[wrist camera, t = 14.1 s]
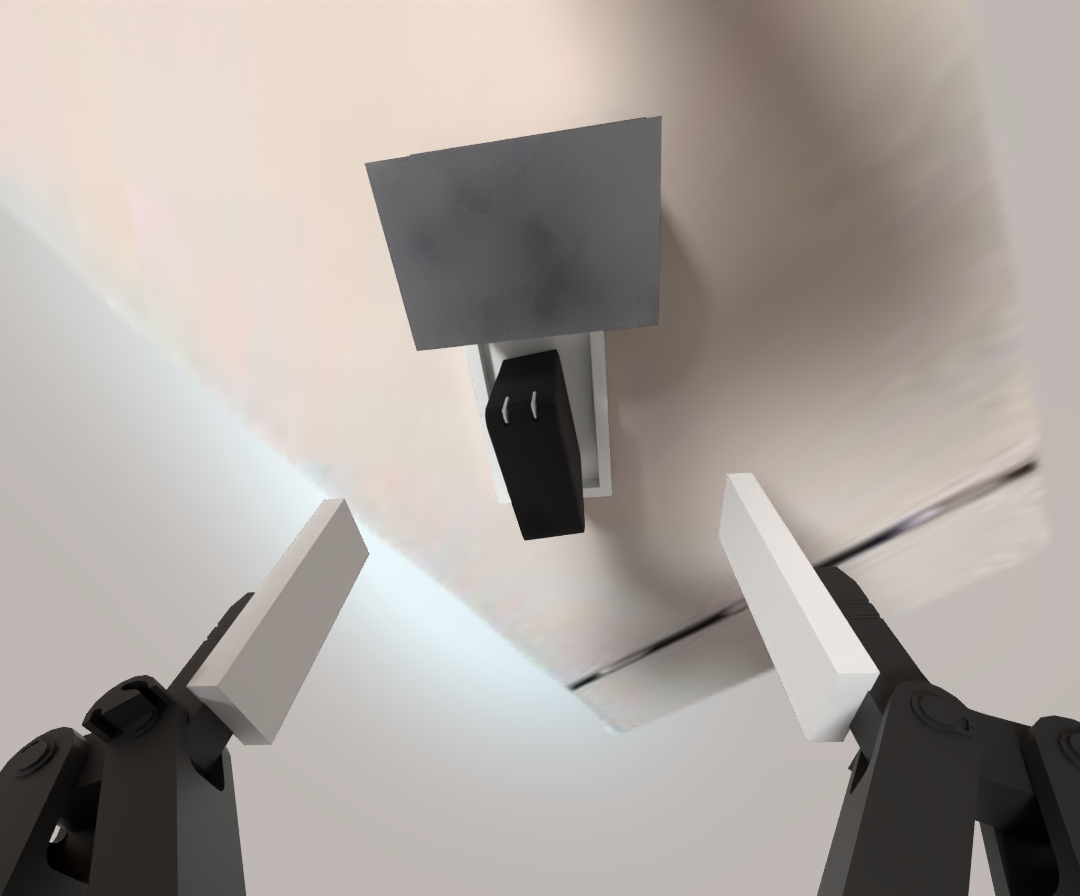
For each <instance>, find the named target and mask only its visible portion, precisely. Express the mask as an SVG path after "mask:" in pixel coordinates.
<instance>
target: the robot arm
mask: <svg viewBox="0 0 1080 896" xmlns="http://www.w3.org/2000/svg"><path fill="white" fill-rule="evenodd" d="M718 537H719V539H720V542H721V544H722V546H723V549H724V551H725V553H726V556H727V558H728V560H729V562H730V565H731V567H732V569H733V572H734V574H735V576H736V579H737V581H738V583H739V585H740V588H741V590H742V592H743V595H744V597H745V599H746V602H747V604H748V606H749V608H750V611H751V613H752V615H753V618H754V620H755V622H756V625H757V627H758V629H759V631H760V634H761V636H762V638H763V641H764V643H765V645H766V648H767V650H768V652H769V655H770V657H771V659H772V661H773V664H774V666H775V668H776V671H777V673H778V675H779V678H780V680H781V682H782V684H783V687H784V689H785V691H786V694H787V696H788V698H789V700H790V703H791V705H792V707H793V710H794V711H795V714H796V717H797V719H798V721H799V724H800V726H801V728H802V730H803V733H804V735H805V737H806V740H807V742H843V741H844V739H845V737H846V735H847V733H848V731H849V730H850V729H851V731H852V733H853V735H854V737H855V739H856V741H857V743H858V744H859V746H860V749H859V751H858V752H857V754H856V756H855V758H854V759H853V761H852V763H851V765H850V766H849V768H848V769H849V770H851V771H852V773H851V777H850V780H849V784H848V788H847V791H846V795H845V798H844V802H843V805H842V809H841V812H840V816H839V819H838V823H837V827H836V830H835V834H834V837H833V841H832V844H831V848H830V852H829V855H828V858H827V862H826V865H825V869H824V873H823V876H822V880H821V883H820V887H819V890H818V894H817V896H968V891H969V881H970V870H971V858H972V846H973V836H974V823H975V820H976V821H979V822H980V827H981V832H982V836H983V840H984V845H985V850H986V854H987V859H988V863H989V868H990V872H991V877H992V882H993V886H994V891H995V895H996V896H1080V722H1078V721H1076V720H1073V719H1069V718H1064V717H1059V716H1055V715H1054V716H1047V717H1041V718H1040V719H1039V720H1038V721H1037V722H1036V723H1035V724H1034V725H1033V726H1032V727H1031V726H1027V725H1023V724H1019V723H1016V722H1012V721H1008V720H1004V719H1001V718H997V717H993V716H989V715H986V714H982V713H979V712H977V711H974V710H971V709H968V708H967V707H966V706H965V705H964V704H963V703H962V702H961V701H960V700H958V699H957V698H956V697H955V696H953V695H952V694H950V693H948V692H947V691H945V690H943V689H942V688H940V687H938V686H935V685H932V684H931V683H930V682H929V681H928V680H927V678H925V676H924V675H923V674H922V673H921V671H920V670H919V668H918V667H917V666H916V664H915V663H914V661H913V660H912V659H911V657H910V656H909V654H908V653H907V652H906V650H905V649H904V648H903V646H902V645H901V643H900V642H899V641H898V639H897V638H896V637H895V635H894V634H893V633H892V631H891V630H890V628H889V627H888V626H887V624H886V623H885V621H884V620H883V619H881V618H880V616H879V613H878V612H877V610H876V609H875V608H874V606H873V605H872V604H871V603H869V599H868V598H867V597H866V595H865V594H864V592H863V591H862V590H861V588H860V587H859V586H858V584H857V583H856V582H855V581H854V580H853V579H852V578H850V577H849V576H848V575H846V574H845V573H844V572H843V571H841V570H840V569H839V568H837V567H812V566H811V564H810V563H809V561H808V559H807V558H806V556H805V555H804V553H803V552H802V550H801V549H800V547H799V545H798V544H797V542H796V541H795V539H794V538H793V536H792V535H791V533H790V531H789V530H788V528H787V527H786V525H785V524H784V522H783V521H782V519H781V517H780V516H779V514H778V513H777V511H776V510H775V508H774V506H773V505H772V503H771V502H770V500H769V499H768V497H767V496H766V494H765V492H764V491H763V489H762V488H761V486H760V485H759V483H758V482H757V480H756V478H755V477H754V475H753V474H752V472H749V473H733V474H727V478H726V485H725V492H724V499H723V506H722V513H721V520H720V527H719V533H718ZM368 556H369V552H368V550H367V547H366V545H365V543H364V541H363V539H362V536H361V534H360V532H359V530H358V528H357V525H356V523H355V521H354V519H353V516H352V514H351V512H350V510H349V508H348V505H347V503H346V501H345V499H328V500H324V501H323V502H322V503H321V505H320V506H319V507H318V509H317V510H316V511H315V513H314V514H313V515H312V517H311V518H310V520H309V521H308V522H307V524H306V525H305V526H304V528H303V529H302V530H301V532H300V533H299V535H298V536H297V537H296V538H295V540H294V541H293V543H292V544H291V545H290V547H289V548H288V549H287V550H286V552H285V553H284V555H283V556H282V557H281V559H280V560H279V561H278V563H277V564H276V566H275V567H274V568H273V570H272V571H271V572H270V574H269V575H268V576H267V578H266V579H265V580H264V582H263V583H262V584H261V586H260V587H259V588H258V590H257V591H256V592H251V593H247V594H246V595H245V596H243V597H242V598H241V599H240V600H239V601H237V602H236V603H235V604H234V605H233V606H231V607H230V608H229V610H228V611H227V612H226V614H225V615H224V616H223V618H222V619H221V620H220V621H219V623H218V626H217V627H215V628H214V629H213V630H212V632H211V633H210V634H209V636H208V637H207V638H208V639H207V641H204V642H203V644H202V645H201V646H200V647H199V649H198V650H197V651H196V653H195V654H194V655H193V656H192V658H191V659H190V660H189V662H188V663H187V664H186V665H185V667H184V668H183V669H182V671H181V672H180V673H179V675H178V676H177V677H176V678H175V680H174V681H173V682H172V684H171V685H170V686H169V687H168V689H167V690H166V689H164V687H162V686H161V684H160V683H158V682H157V681H156V680H155V679H154V678H153V677H150V676H148V675H143V676H136V677H133V678H131V679H128V680H126V681H124V682H122V683H120V684H119V685H117V686H115V687H114V688H112V689H111V690H109V691H108V692H107V693H106V694H104V695H103V696H102V697H101V698H100V699H99V700H98V701H97V702H96V703H95V704H94V705H93V706H92V708H91V709H90V710H89V711H88V713H87V714H86V716H85V718H84V721H83V723H82V726H84V727H85V728H86V729H88V730H89V731H90V732H92V733H91V734H88V735H85V736H82V735H81V734H79V733H78V732H76V731H75V730H74V729H72V728H68V727H61V728H57V729H53V730H50V731H49V732H47V733H45V734H43V735H41V736H39V737H37V738H35V739H34V740H33V741H31V742H30V743H28V744H27V745H26V746H25V747H23V748H22V749H21V750H20V751H19V752H17V754H15V756H13V757H12V758H11V759H10V760H9V761H8V762H7V764H6V765H5V766H4V768H3V769H2V770H1V772H0V896H246V890H245V882H244V872H243V864H242V855H241V846H240V837H239V828H238V819H237V810H236V802H235V792H234V783H233V774H232V765H231V756H230V753H229V751H228V749H227V748H226V747H225V746H226V744H227V743H228V741H229V739H230V738H231V736H232V734H234V735H235V736H236V737H237V738H238V739H239V740H240V741H241V742H242V743H243V744H244V745H271V744H272V743H273V741H274V739H275V737H276V735H277V733H278V731H279V729H280V727H281V725H282V723H283V721H284V719H285V718H286V716H287V714H288V712H289V710H290V708H291V706H292V704H293V702H294V700H295V698H296V696H297V694H298V692H299V690H300V688H301V686H302V684H303V682H304V680H305V679H306V677H307V675H308V673H309V671H310V669H311V667H312V665H313V663H314V661H315V659H316V657H317V655H318V653H319V651H320V649H321V647H322V645H323V643H324V641H325V639H326V638H327V635H328V634H329V632H330V630H331V628H332V626H333V624H334V622H335V620H336V618H337V616H338V614H339V612H340V610H341V608H342V606H343V604H344V602H345V600H346V598H347V596H348V595H349V593H350V591H351V588H352V587H353V585H354V583H355V581H356V579H357V577H358V575H359V573H360V571H361V569H362V567H363V565H364V563H365V561H366V559H367V558H368ZM56 825H57V826H59V827H61V828H60V830H59V832H58V835H57V837H56V838H55V840H54V841H53V843H50V842H49V841H50V839H51V836H52V834H53V832H54V829H55V827H56Z"/></svg>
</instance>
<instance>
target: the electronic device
mask: <svg viewBox="0 0 1080 896" xmlns="http://www.w3.org/2000/svg"><path fill="white" fill-rule="evenodd" d="M485 421H486V426H487V430H488V433H489V436H490V439H491V442H492V445H493V448H494V451H495V454H496V457H497V460H498V463H499V466H500V469H501V472H502V475H503V478H504V481H505V485H506V488H507V491H508V494H509V497H510V500H511V503H512V506H513V509H514V512H515V515H516V518H517V521H518V524H519V527H520V530H521V533H522V536H523V538H524V540H533V539H540V538H547V537H555V536H562V535H569V534H576V533H584V529H585V519H584V502H583V485H582V468H581V455H580V450H579V445H578V440H577V436H576V431H575V426H574V422H573V417H572V412H571V407H570V403H569V398H568V393H567V389H566V384H565V379H564V375H563V370H562V365H561V360H560V356H559V353H558V351H557V349H554V350H549V351H544V352H539V353H534V354H530V355H525V356H520V357H515V358H510V359H505V360H503V362H502V365H501V367H500V370H499V373H498V376H497V378H496V381H495V384H494V386H493V389H492V392H491V395H490V397H489V400H488V403H487V406H486V408H485Z"/></svg>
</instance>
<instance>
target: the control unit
mask: <svg viewBox="0 0 1080 896" xmlns="http://www.w3.org/2000/svg"><path fill="white" fill-rule="evenodd" d="M661 119H662V116H658V117H652V118H646V117H643V118H637V119H631V120H625V121H619V122H612V123H606V124H600V125H594V126H587V127H581V128H575V129H569V130H562V131H556V132H550V133H544V134H537V135H531V136H525V137H519V138H512V139H506V140H500V141H494V142H487V143H481V144H475V145H469V146H462V147H456V148H450V149H444V150H437V151H431V152H425V153H419V154H412V155H410V156H408V157H401V158H395V159H389V160H383V161H376V162H370V163H365V166H366V170H367V173H368V177H369V181H370V184H371V188H372V191H373V195H374V198H375V202H376V206H377V209H378V213H379V216H380V220H381V224H382V227H383V231H384V234H385V238H386V242H387V245H388V249H389V252H390V256H391V260H392V263H393V267H394V270H395V274H396V278H397V281H398V285H399V288H400V292H401V296H402V299H403V303H404V306H405V310H406V313H407V317H408V321H409V324H410V328H411V331H412V335H413V339H414V342H415V346H416V349H417V351H421V350H430V349H439V348H448V347H457V346H467V345H476V344H485V343H494V342H503V341H512V340H522V339H531V338H540V337H549V336H558V335H568V334H577V333H586V332H595V331H604V330H613V329H623V328H632V327H641V326H650V325H658V309H659V246H660V182H661Z"/></svg>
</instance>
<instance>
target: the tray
mask: <svg viewBox="0 0 1080 896" xmlns="http://www.w3.org/2000/svg"><path fill="white" fill-rule="evenodd" d="M464 349H465V353H466V358H467V362H468V367H469V372H470V376H471V381H472V385H473V390H474V394H475V399H476V403H477V408H478V413H479V417H480V422H481V426H482V431H483V435H484V440H485V444H486V449H487V454H488V458H489V463H490V467H491V472H492V476H493V481H494V485H495V490H496V495H497V499H498V504H501V503H511V500H510V497H509V494H508V491H507V488H506V485H505V481H504V478H503V475H502V472H501V469H500V466H499V463H498V460H497V457H496V454H495V451H494V448H493V445H492V442H491V439H490V436H489V433H488V430H487V426H486V421H485V408H486V406H487V403H488V400H489V397H490V395H491V392H492V389H493V386H494V384H495V381H496V378H497V376H498V373H499V370H500V367H501V365H502V362H503V360H505V359H510V358H515V357H520V356H525V355H530V354H534V353H539V352H544V351H549V350H554V349H557V351H558V353H559V356H560V360H561V365H562V370H563V375H564V379H565V384H566V389H567V393H568V398H569V403H570V407H571V412H572V417H573V422H574V426H575V431H576V436H577V440H578V445H579V450H580V455H581V468H582V485H583V498H589V497H604V496H612V483H611V462H610V442H609V421H608V400H607V380H606V359H605V338H604V331H595V332H586V333H577V334H568V335H558V336H549V337H540V338H531V339H522V340H512V341H503V342H494V343H485V344H476V345H467V346H464Z"/></svg>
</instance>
